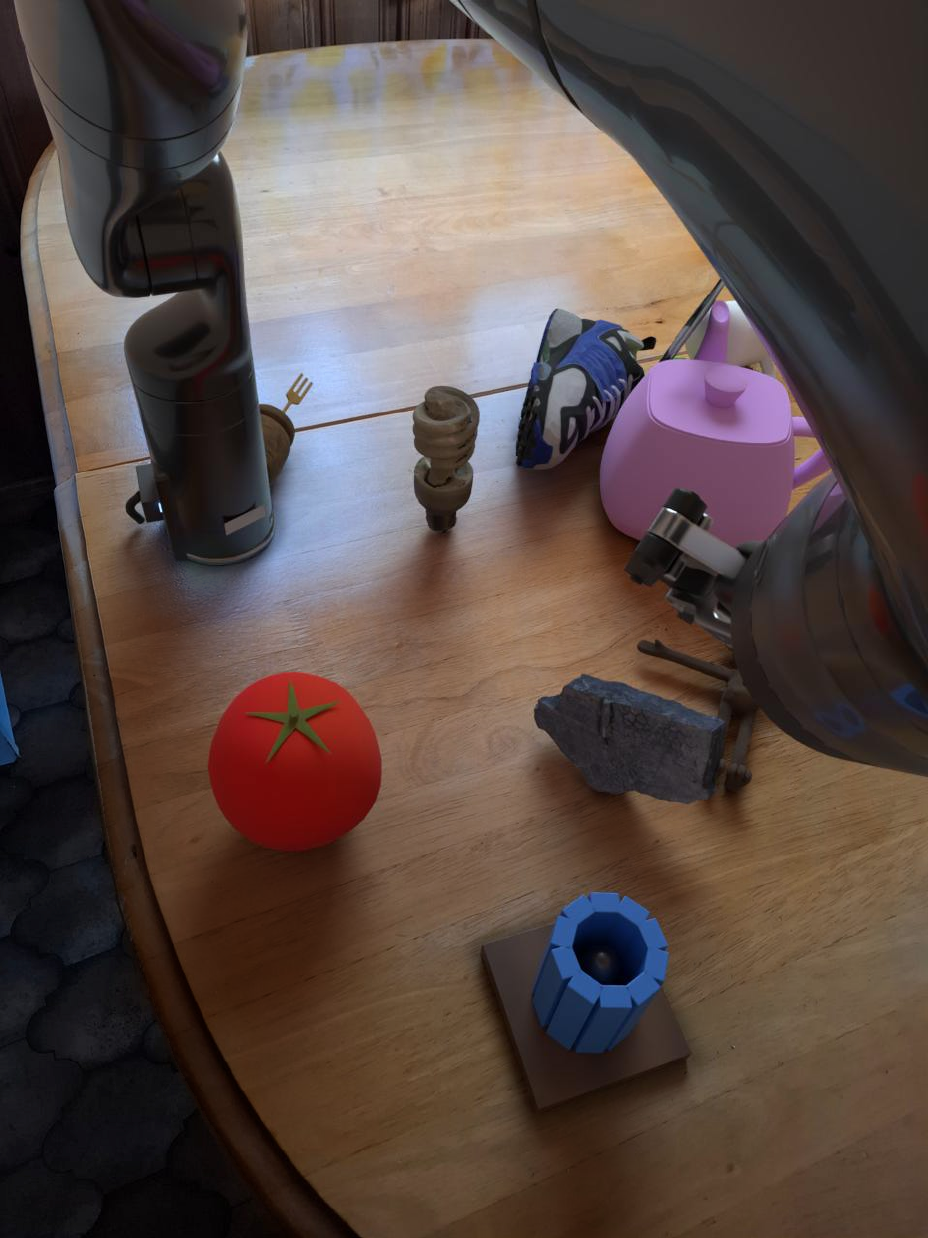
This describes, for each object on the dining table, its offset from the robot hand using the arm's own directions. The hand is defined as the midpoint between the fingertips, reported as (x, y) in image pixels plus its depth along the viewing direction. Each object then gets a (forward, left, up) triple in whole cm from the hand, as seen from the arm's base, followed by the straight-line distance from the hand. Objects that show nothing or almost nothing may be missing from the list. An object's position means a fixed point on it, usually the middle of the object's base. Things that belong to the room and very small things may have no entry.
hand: (786, 654), depth 37 cm
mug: (+33, +51, -24) cm, 65 cm away
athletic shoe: (+12, +54, -26) cm, 61 cm away
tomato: (-19, +15, -31) cm, 39 cm away
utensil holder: (-17, +49, -27) cm, 59 cm away
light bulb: (-1, +40, -31) cm, 50 cm away
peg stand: (-5, -3, -30) cm, 31 cm away
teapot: (+23, +38, -30) cm, 54 cm away
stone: (+4, +12, -31) cm, 33 cm away
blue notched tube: (-5, -3, -29) cm, 30 cm away
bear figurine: (+16, +14, -31) cm, 37 cm away
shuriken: (+20, +53, -23) cm, 61 cm away
